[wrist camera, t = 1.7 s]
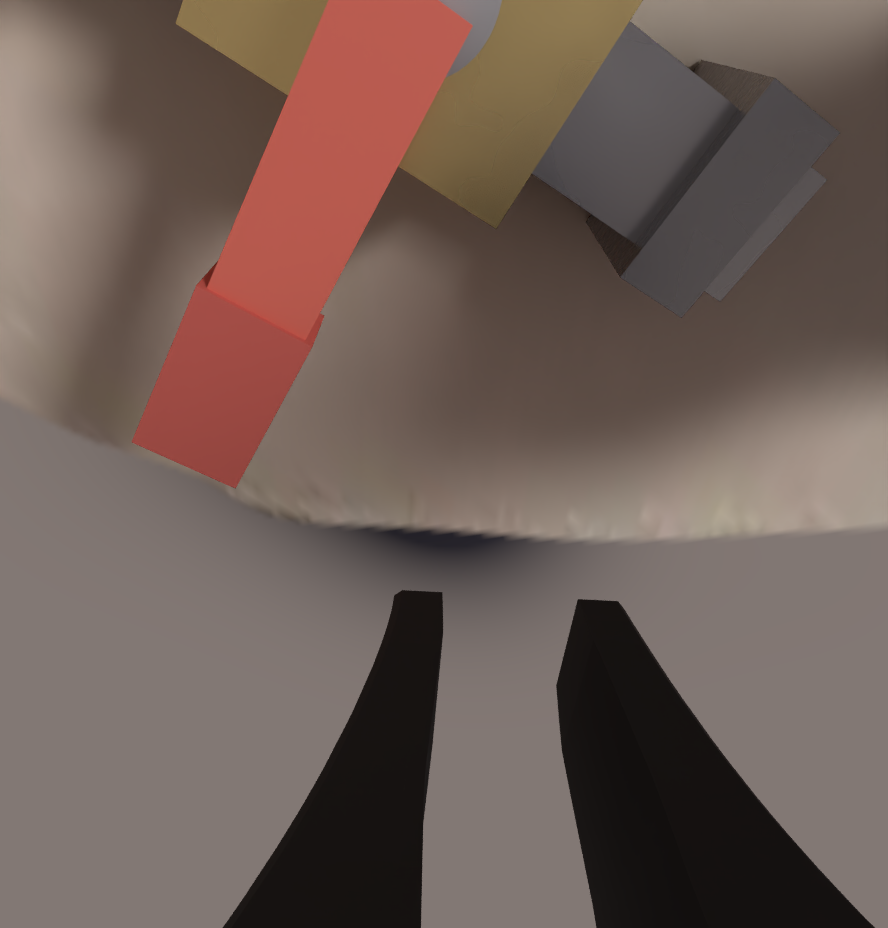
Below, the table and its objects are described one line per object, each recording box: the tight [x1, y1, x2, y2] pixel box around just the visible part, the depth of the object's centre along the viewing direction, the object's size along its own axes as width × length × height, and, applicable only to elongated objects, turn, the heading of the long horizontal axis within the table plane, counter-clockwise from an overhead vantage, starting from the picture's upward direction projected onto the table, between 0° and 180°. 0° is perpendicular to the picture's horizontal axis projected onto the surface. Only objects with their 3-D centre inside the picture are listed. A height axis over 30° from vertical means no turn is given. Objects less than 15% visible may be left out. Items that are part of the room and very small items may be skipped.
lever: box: [132, 0, 502, 488], centre depth 11 cm, size 10×2×2 cm, turn 149°
